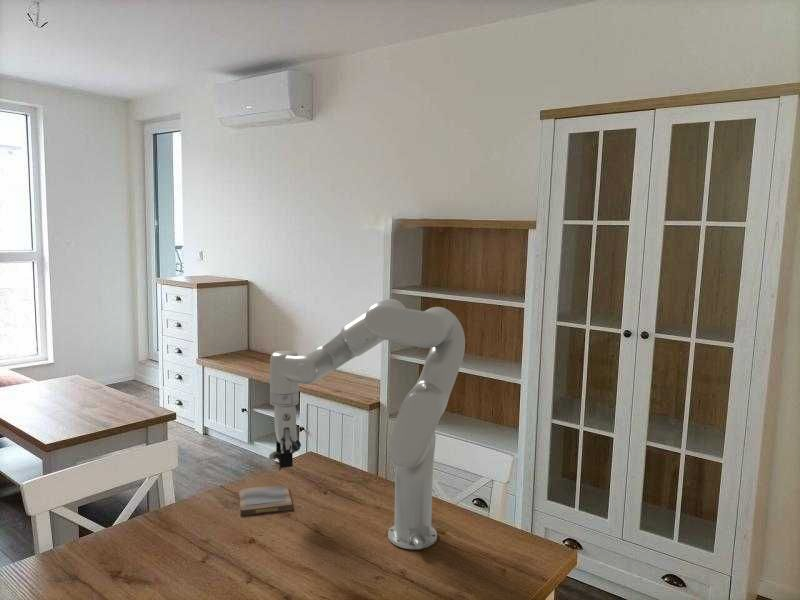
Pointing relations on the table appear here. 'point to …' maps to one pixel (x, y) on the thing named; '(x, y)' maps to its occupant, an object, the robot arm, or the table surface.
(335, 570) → the table surface
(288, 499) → the wooden picture frame
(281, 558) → the table surface
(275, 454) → the eagle figurine
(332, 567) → the table surface
